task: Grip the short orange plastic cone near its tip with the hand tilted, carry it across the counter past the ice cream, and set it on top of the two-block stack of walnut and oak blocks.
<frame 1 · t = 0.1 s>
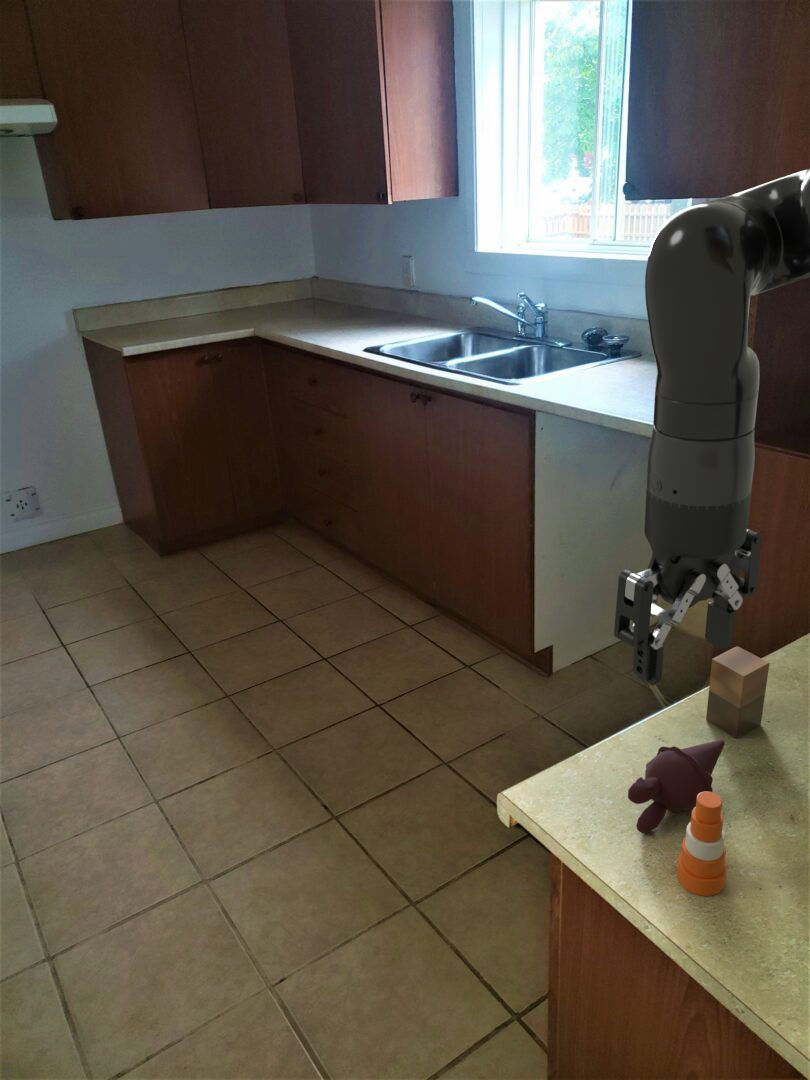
hand: (683, 661, 69), 25 cm above the countertop, tool pointing down, fingers open, 8 cm apart
block top: (736, 692, 98), point 4 cm above the countertop, touching block bottom
cone: (700, 877, 79), on the countertop
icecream: (677, 801, 89), on the countertop
block bottom: (733, 722, 100), on the countertop, touching block top
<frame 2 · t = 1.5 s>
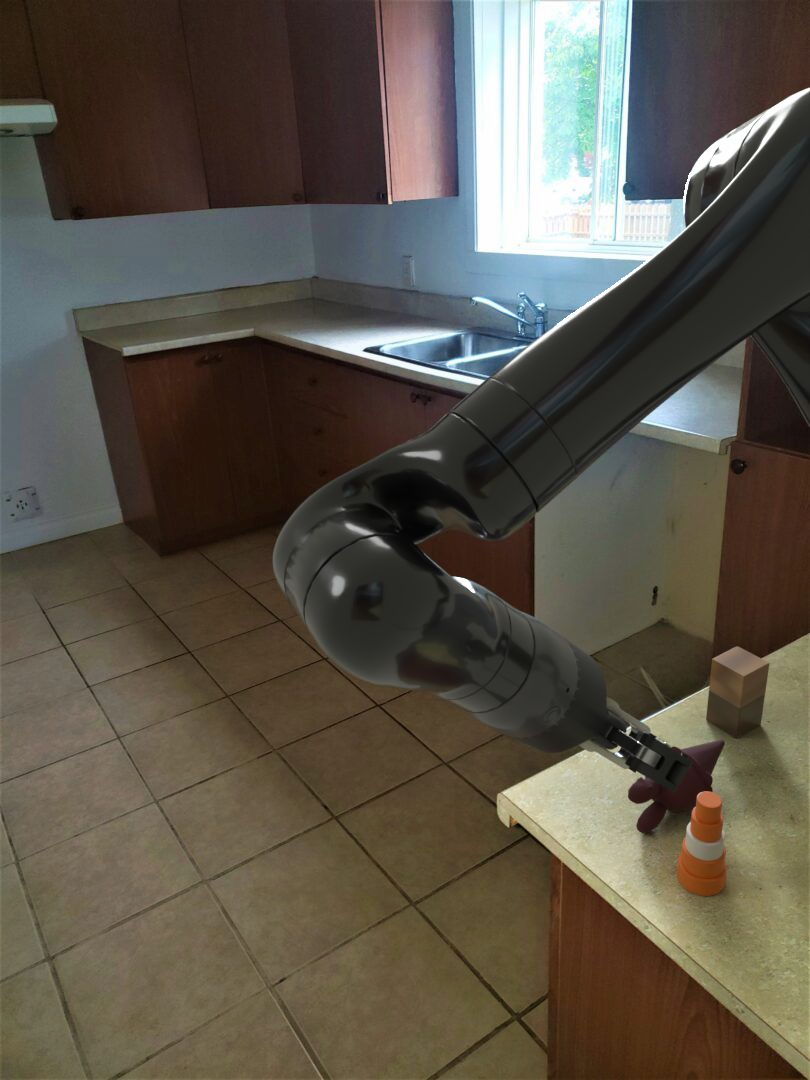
hand: (631, 743, 64), 23 cm above the countertop, tool tilted 45°, fingers open, 8 cm apart
nothing on the countertop moved.
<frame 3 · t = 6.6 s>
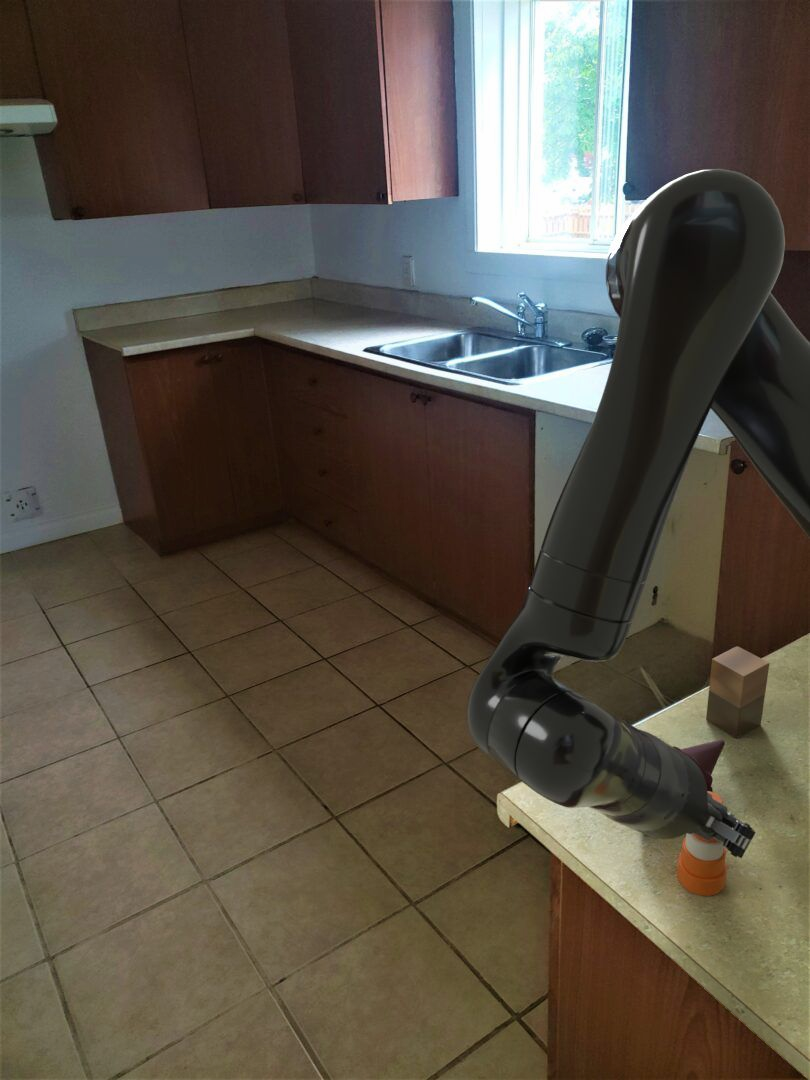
hand: (718, 821, 78), 6 cm above the countertop, tool tilted 45°, fingers closed on cone, 3 cm apart
cone: (700, 877, 79), on the countertop, touching gripper
everything else where it was.
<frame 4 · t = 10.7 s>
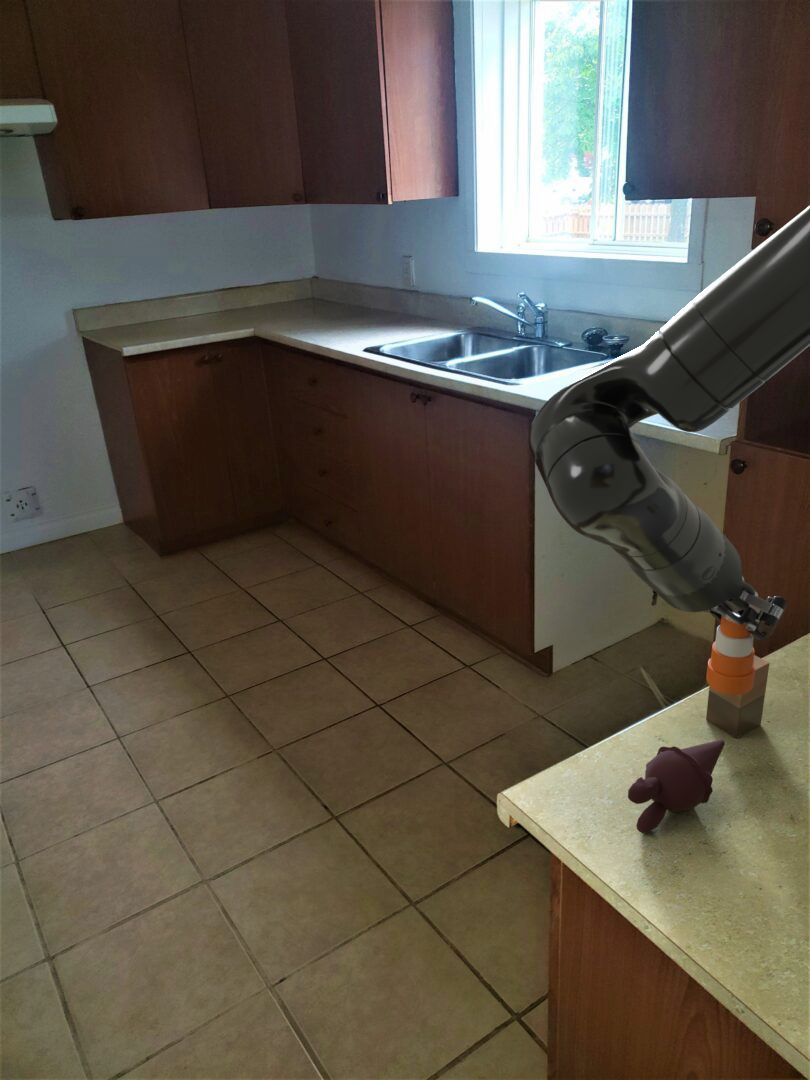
hand: (747, 623, 81), 21 cm above the countertop, tool tilted 45°, fingers closed on cone, 3 cm apart
cone: (729, 681, 82), point 15 cm above the countertop, touching gripper
everything else where it was.
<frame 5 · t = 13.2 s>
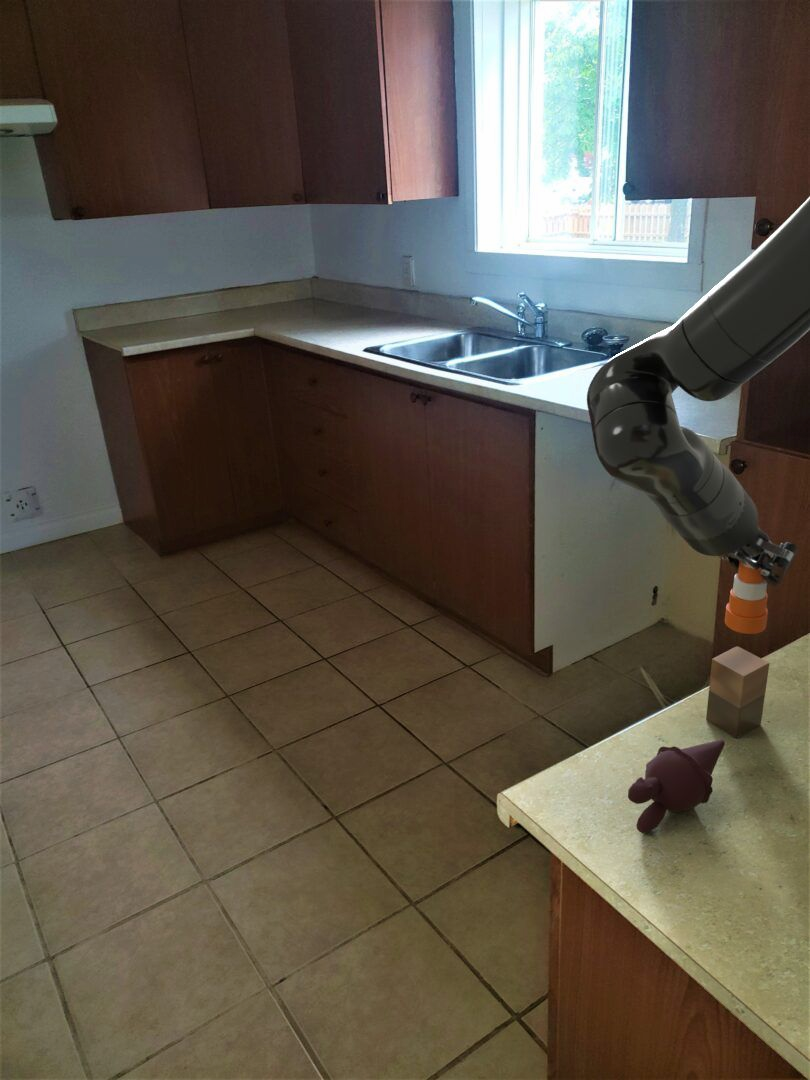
hand: (761, 571, 92), 20 cm above the countertop, tool tilted 45°, fingers closed on cone, 3 cm apart
cone: (745, 623, 93), point 14 cm above the countertop, touching gripper
everything else where it was.
when the fingers open (15 cm above the countertop, at t = 15.0 s): cone stays where it is, resting on block top.
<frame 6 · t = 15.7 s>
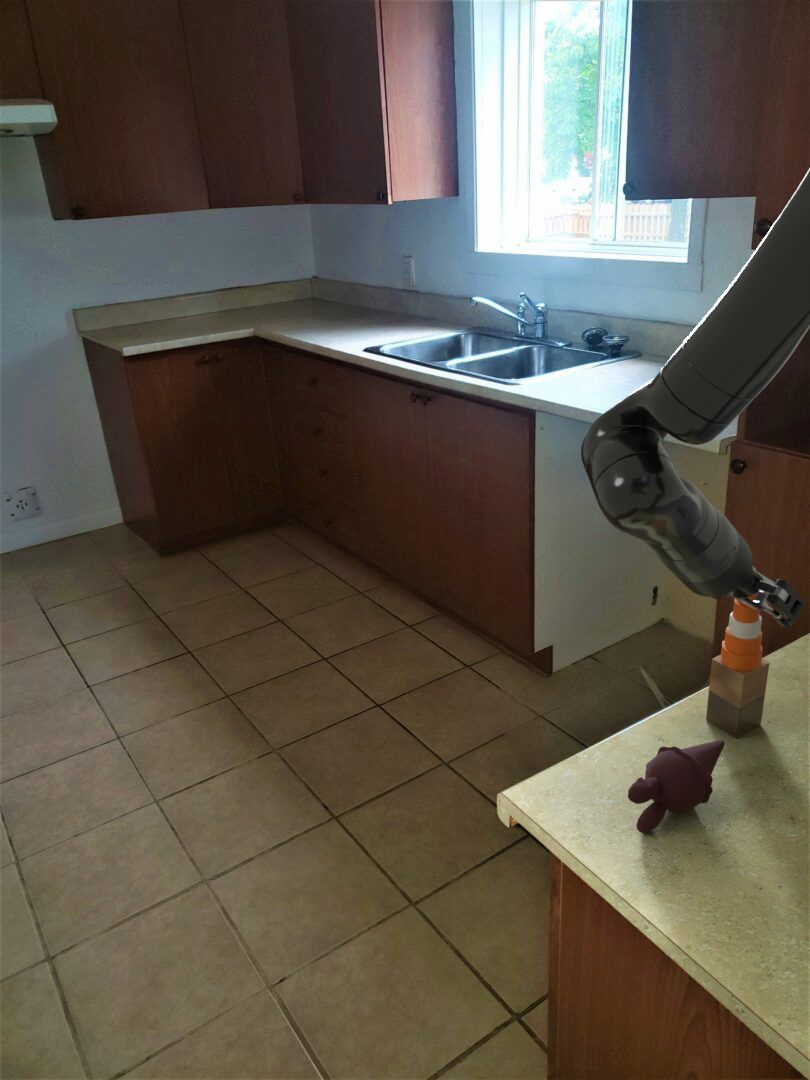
hand: (753, 605, 93), 16 cm above the countertop, tool tilted 45°, fingers open, 8 cm apart
block top: (736, 692, 98), point 4 cm above the countertop, touching block bottom, cone
cone: (740, 660, 96), point 9 cm above the countertop, touching block top
everything else where it was.
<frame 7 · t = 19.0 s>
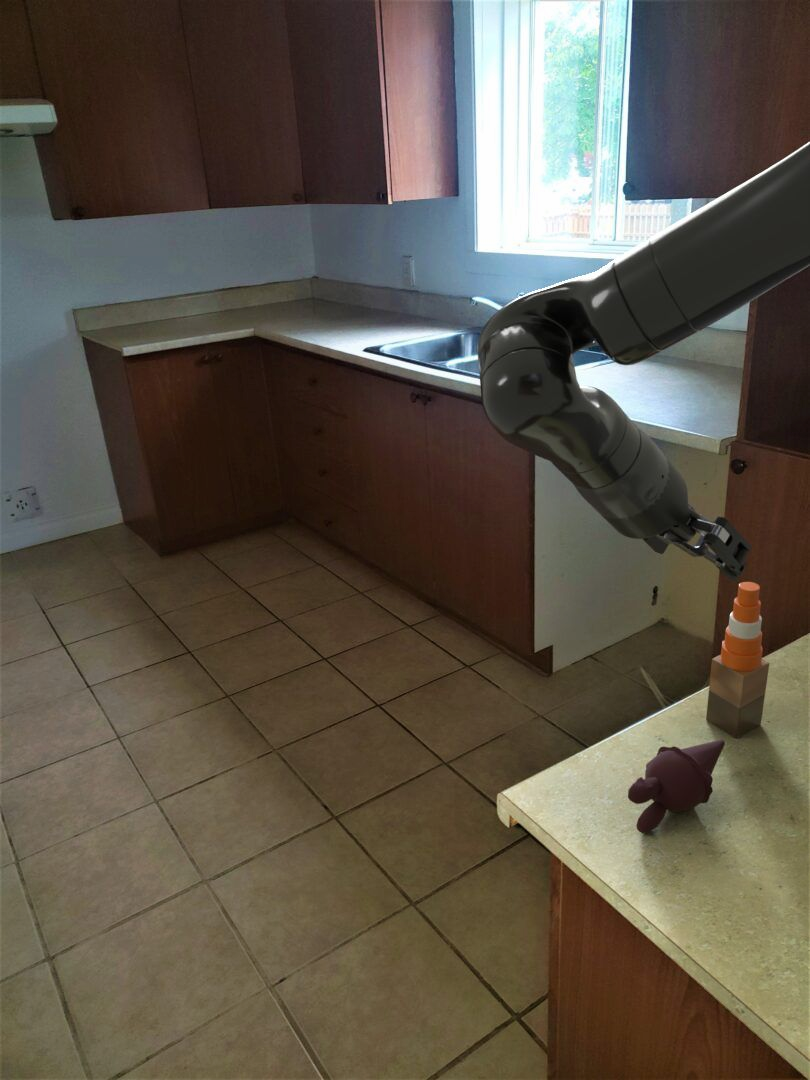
hand: (699, 557, 82), 27 cm above the countertop, tool tilted 45°, fingers open, 8 cm apart
nothing on the countertop moved.
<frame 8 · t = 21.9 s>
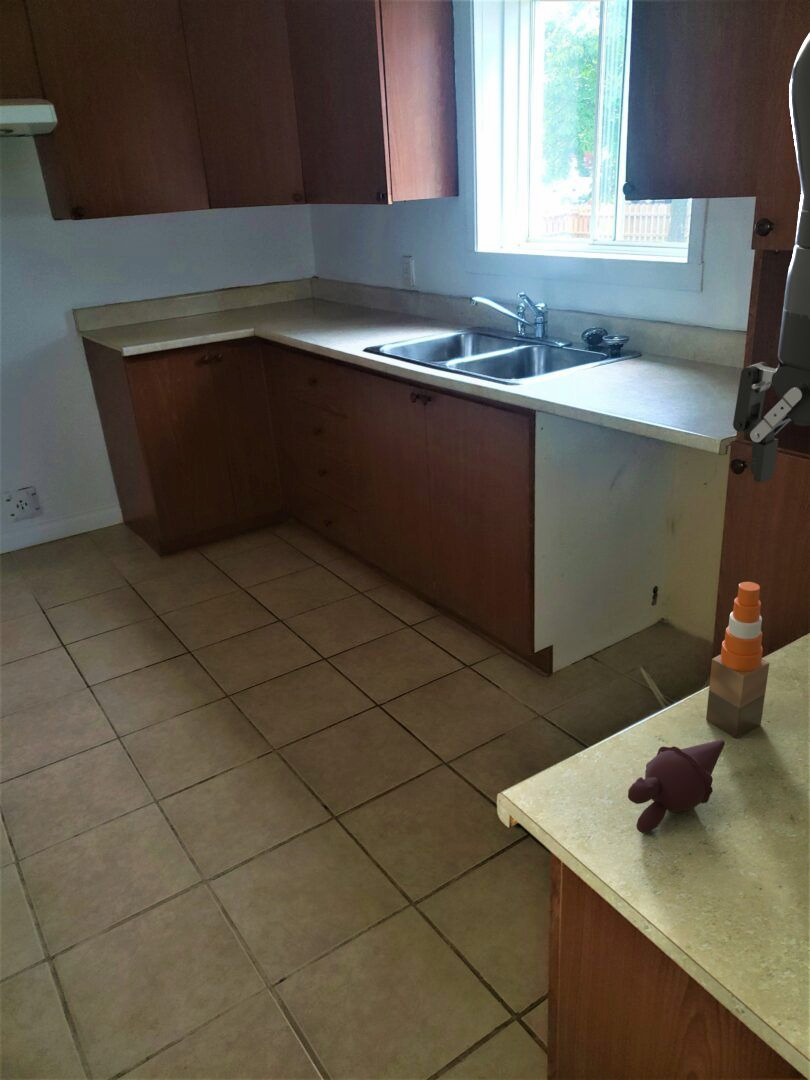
hand: (807, 491, 72), 36 cm above the countertop, tool pointing down, fingers open, 8 cm apart
nothing on the countertop moved.
at the end: cone 0.0 cm off-centre on the block top, point 4.5 cm above the block top's base; cone tilted 0°; block top 0.0 cm off-centre on the block bottom, point 4.5 cm above the block bottom's base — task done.
